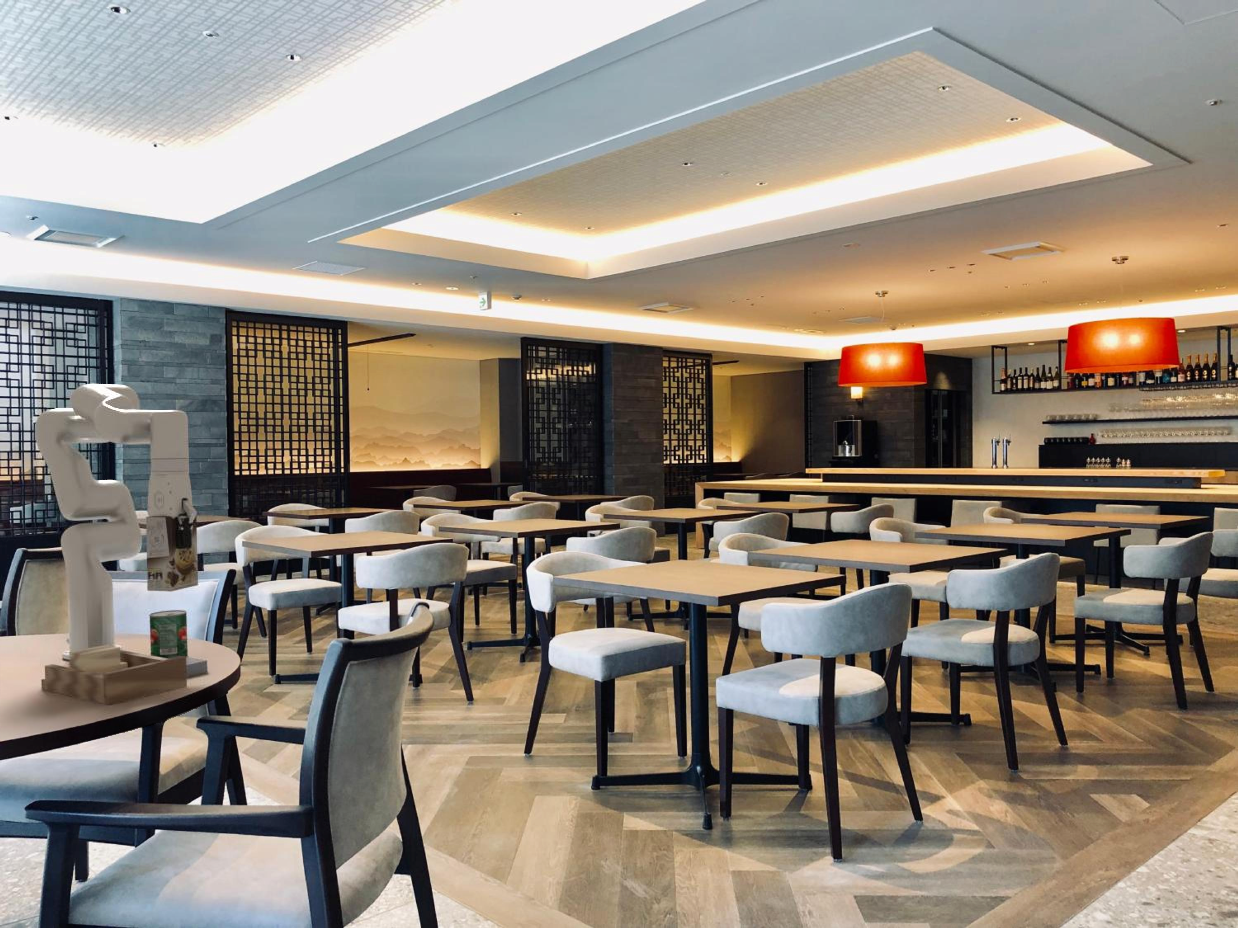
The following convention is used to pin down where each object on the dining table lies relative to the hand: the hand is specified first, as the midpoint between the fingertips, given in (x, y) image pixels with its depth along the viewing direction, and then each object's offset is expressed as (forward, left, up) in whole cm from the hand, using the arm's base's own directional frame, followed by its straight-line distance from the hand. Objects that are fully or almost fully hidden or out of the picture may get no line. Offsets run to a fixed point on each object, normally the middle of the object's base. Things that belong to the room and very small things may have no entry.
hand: (172, 546), depth 211 cm
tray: (0, -14, -28) cm, 31 cm away
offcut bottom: (-7, -14, -28) cm, 32 cm away
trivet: (0, 0, -28) cm, 28 cm away
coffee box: (0, 0, -9) cm, 9 cm away
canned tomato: (-14, +7, -28) cm, 32 cm away
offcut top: (-7, -14, -24) cm, 29 cm away
